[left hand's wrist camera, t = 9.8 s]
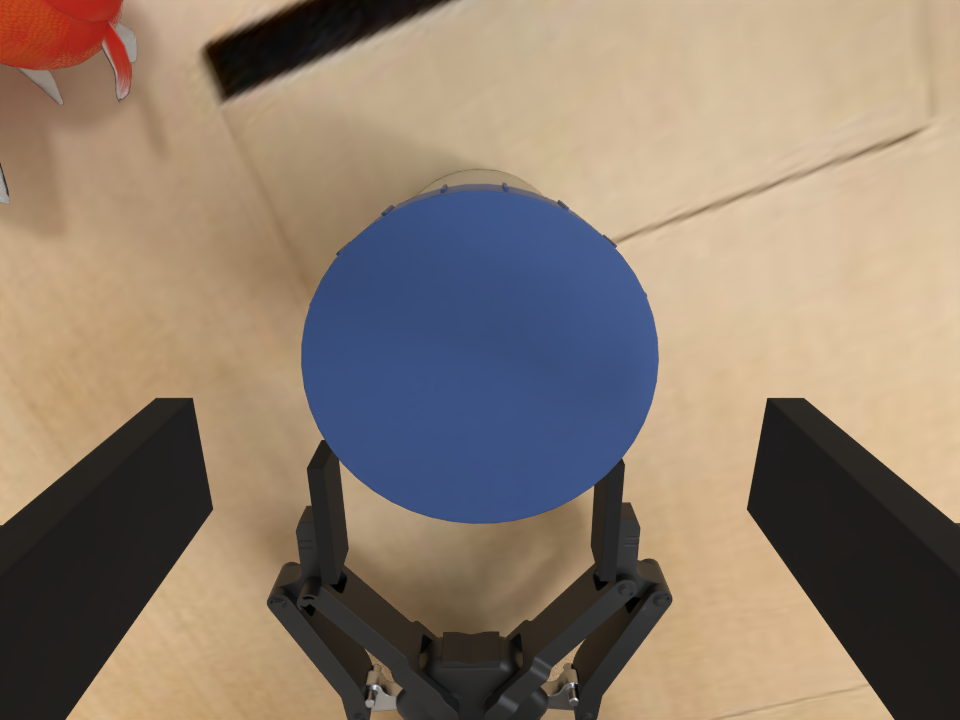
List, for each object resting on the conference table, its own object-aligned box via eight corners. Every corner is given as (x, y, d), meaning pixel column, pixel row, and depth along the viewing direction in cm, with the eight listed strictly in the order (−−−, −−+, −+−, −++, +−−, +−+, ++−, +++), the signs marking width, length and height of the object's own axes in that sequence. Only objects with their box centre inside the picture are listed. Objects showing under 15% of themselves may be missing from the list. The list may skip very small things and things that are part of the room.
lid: (443, 536, 22) (440, 578, 20) (249, 310, 19) (221, 331, 17) (698, 386, 20) (723, 416, 18) (524, 106, 17) (531, 102, 15)
